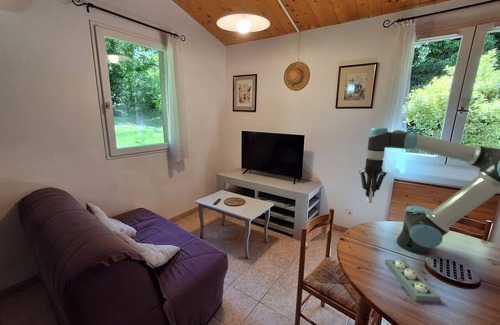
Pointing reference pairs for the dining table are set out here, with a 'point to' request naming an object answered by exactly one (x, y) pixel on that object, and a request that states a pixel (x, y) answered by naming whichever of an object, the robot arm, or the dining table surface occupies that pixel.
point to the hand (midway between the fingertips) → (368, 202)
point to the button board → (412, 283)
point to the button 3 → (421, 287)
